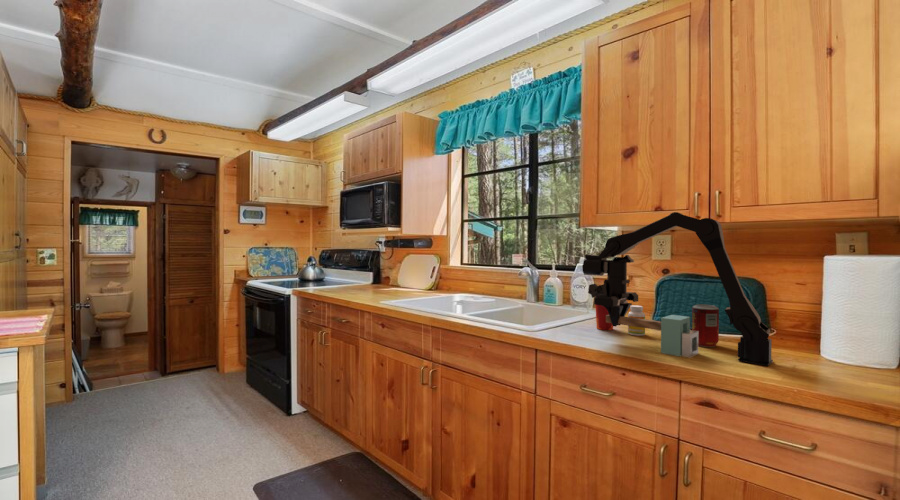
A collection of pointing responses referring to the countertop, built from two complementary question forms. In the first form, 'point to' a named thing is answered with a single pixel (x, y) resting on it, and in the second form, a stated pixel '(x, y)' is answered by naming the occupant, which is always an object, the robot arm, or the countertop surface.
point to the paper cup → (602, 318)
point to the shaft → (637, 322)
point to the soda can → (706, 324)
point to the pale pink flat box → (690, 343)
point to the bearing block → (673, 333)
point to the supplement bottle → (637, 313)
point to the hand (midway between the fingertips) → (616, 325)
